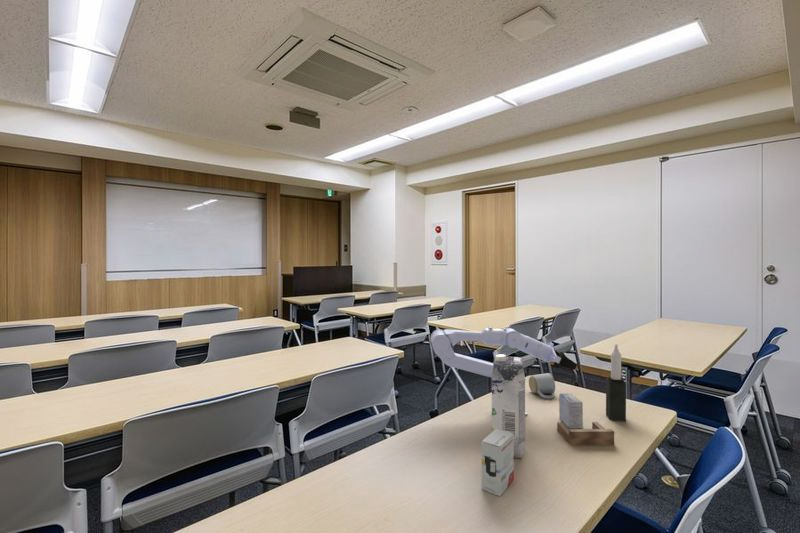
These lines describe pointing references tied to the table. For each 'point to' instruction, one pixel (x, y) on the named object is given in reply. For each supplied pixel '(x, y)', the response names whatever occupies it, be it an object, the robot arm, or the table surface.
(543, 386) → the ceramic mug
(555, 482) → the table surface
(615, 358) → the candle
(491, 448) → the ink box
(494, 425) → the juice carton
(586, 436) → the holder
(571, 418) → the medicine box
